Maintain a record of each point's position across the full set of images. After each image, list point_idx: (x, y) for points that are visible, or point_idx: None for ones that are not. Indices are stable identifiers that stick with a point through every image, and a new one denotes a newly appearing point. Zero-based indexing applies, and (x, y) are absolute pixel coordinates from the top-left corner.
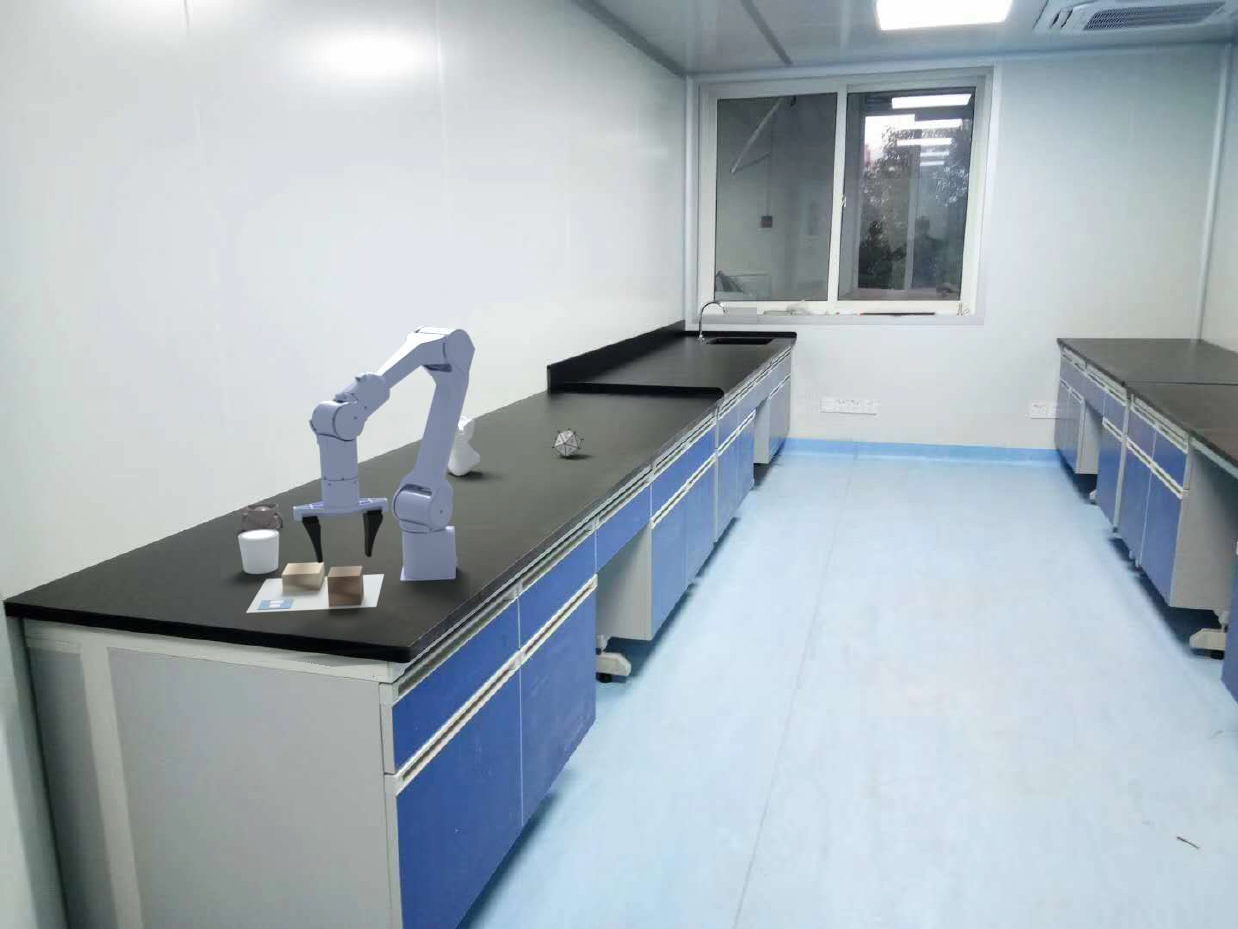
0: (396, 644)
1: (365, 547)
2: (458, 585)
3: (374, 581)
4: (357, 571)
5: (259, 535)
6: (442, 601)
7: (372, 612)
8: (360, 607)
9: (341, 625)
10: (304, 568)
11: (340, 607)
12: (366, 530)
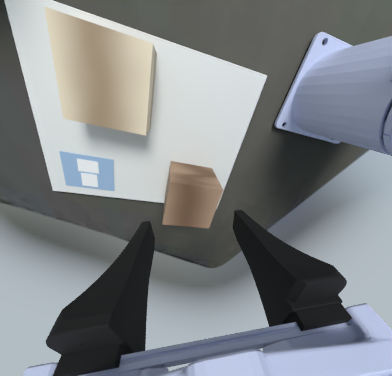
0: (213, 266)
1: (239, 227)
2: (327, 159)
3: (239, 114)
4: (209, 212)
5: None
6: (283, 201)
7: None
8: None
9: (176, 233)
10: (108, 86)
11: None
12: (258, 267)
